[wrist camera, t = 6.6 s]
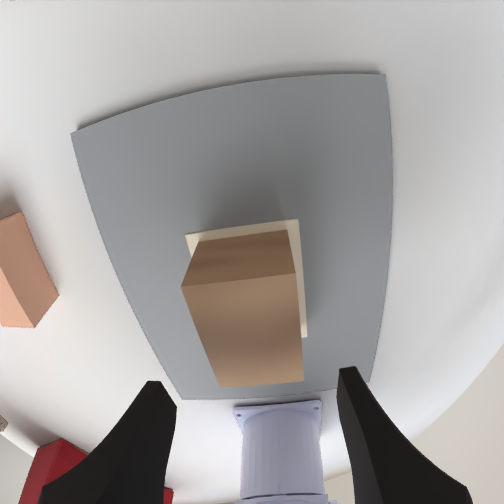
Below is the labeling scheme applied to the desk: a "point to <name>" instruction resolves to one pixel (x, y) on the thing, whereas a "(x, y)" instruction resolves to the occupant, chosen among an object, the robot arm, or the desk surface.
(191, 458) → the desk surface
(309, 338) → the board
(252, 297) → the walnut block
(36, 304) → the terracotta block
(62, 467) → the storage cube
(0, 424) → the stone castle ruin
